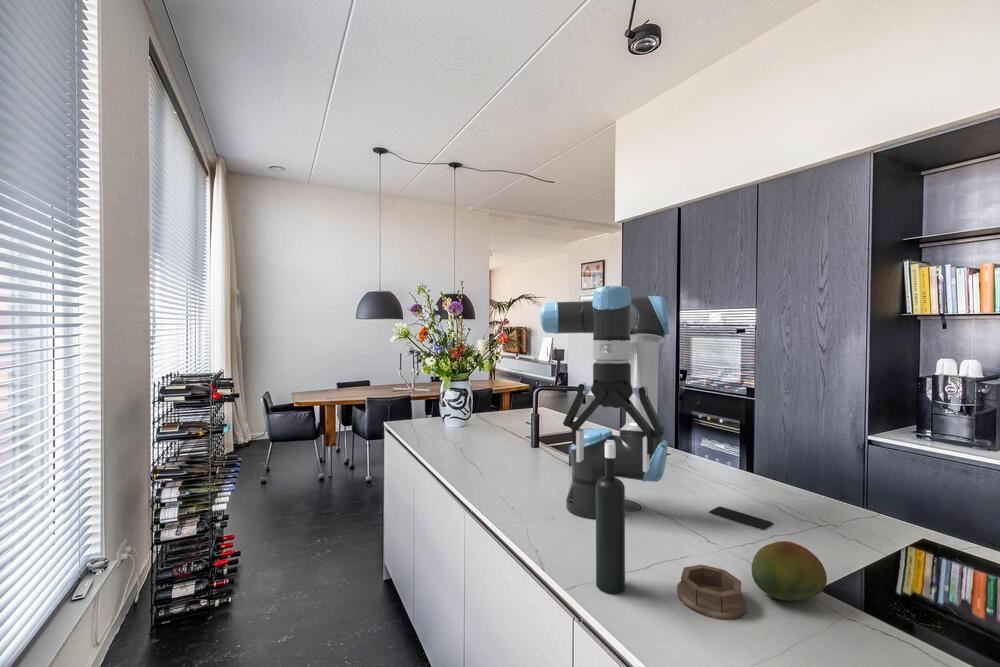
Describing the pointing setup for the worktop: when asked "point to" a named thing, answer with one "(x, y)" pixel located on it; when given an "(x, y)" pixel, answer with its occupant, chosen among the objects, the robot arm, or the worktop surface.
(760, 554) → the fruit
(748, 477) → the worktop surface
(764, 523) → the smartphone
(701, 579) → the bowl
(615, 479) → the wine bottle
